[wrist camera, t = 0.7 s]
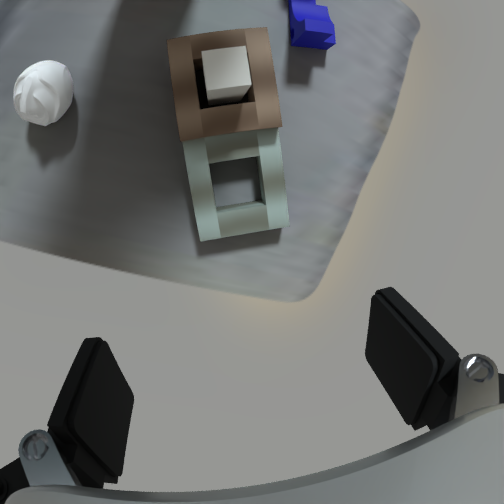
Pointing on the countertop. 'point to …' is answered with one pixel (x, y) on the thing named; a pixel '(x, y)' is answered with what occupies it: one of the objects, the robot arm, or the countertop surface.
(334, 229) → the countertop surface
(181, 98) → the socket block
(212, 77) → the peg
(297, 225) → the countertop surface
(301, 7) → the blue curved block
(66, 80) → the white round lump
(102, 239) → the countertop surface
